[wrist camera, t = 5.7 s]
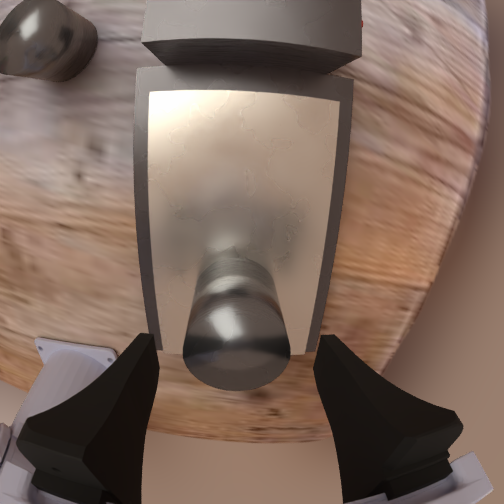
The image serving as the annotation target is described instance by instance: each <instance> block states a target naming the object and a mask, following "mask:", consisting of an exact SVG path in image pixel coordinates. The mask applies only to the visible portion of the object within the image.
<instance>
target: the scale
mask: <svg viewBox="0 0 504 504" xmlns="http://www.w3.org/2000/svg"><path fill="white" fill-rule="evenodd" d="M362 27H363V21H362V16H361V0H147V3H146V9H145V16H144V23H143V30H142V38H141V43H142V44H143V45H144V46H146V47H147V48H148V49H149V50H150V51H151V52H152V53H153V54H154V55H155V56H156V57H157V58H158V59H159V60H160V61H161V62H162V63H163V64H165V66H152V67H141V68H137V73H136V87H135V105H134V140H133V161H134V197H135V216H136V231H137V243H138V254H139V264H140V273H141V281H142V289H143V297H144V304H145V311H146V317H147V323H148V329H149V334H154V339H155V345H156V350H163V352H164V353H170V354H183V344H184V339H185V334H186V329H187V324H188V320H189V315H190V310H191V305H192V301H193V296H194V292H195V287H196V283H197V280H198V278H199V276H200V275H201V273H202V272H203V271H204V270H205V269H206V268H207V267H208V266H209V265H211V264H212V263H214V262H216V261H219V260H221V259H225V258H231V257H239V258H246V259H250V260H252V261H255V262H257V263H258V264H260V265H261V266H263V267H264V268H265V269H266V270H267V271H268V272H269V273H270V275H271V276H272V278H273V281H274V283H275V287H276V291H277V295H278V299H279V303H280V307H281V311H282V315H283V319H284V323H285V327H286V331H287V335H288V339H289V343H290V348H291V354H290V355H302V354H305V352H312V351H315V349H316V345H317V341H318V336H319V332H320V328H321V323H322V318H323V314H324V309H325V304H326V299H327V294H328V289H329V284H330V279H331V273H332V268H333V262H334V256H335V250H336V244H337V238H338V232H339V225H340V218H341V211H342V204H343V196H344V188H345V180H346V172H347V162H348V152H349V142H350V130H351V117H352V102H353V82H354V79H349V78H344V77H339V76H333V75H328V73H330V72H332V71H334V70H336V69H338V68H339V67H341V66H344V65H346V64H347V63H349V62H351V61H353V60H355V59H357V58H360V57H362Z"/></svg>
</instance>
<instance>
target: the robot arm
mask: <svg viewBox="0 0 504 504" xmlns="http://www.w3.org/2000/svg"><path fill="white" fill-rule="evenodd" d="M34 342H35V345H36V347H37V349H38V352H39V354H40V356H41V359H42V361H43V363H44V366H43V368H42V370H41V371H40V373H39V375H38V376H37V378H36V380H35V382H34V383H33V385H32V387H31V389H30V391H29V392H28V394H27V396H26V398H25V400H24V402H23V404H22V405H21V407H20V409H19V411H18V413H17V415H16V417H15V419H14V421H13V423H12V425H11V426H10V427H8V426H7V425H5V424H4V423H0V504H141V485H142V484H141V483H142V464H143V452H144V443H145V435H146V429H147V425H148V421H149V417H150V413H151V409H152V406H153V402H154V398H155V394H156V390H157V385H158V377H159V369H160V367H159V362H158V356H157V351H156V345H155V339H154V334H148V333H140V334H139V335H138V336H137V337H136V338H135V339H134V340H133V341H132V343H131V344H130V345H129V346H128V347H127V348H126V349H125V350H124V352H123V353H122V354H121V355H120V356H119V357H118V358H117V355H116V352H115V351H114V350H113V349H110V348H104V347H96V346H89V345H82V344H75V343H69V342H63V341H57V340H51V339H46V338H40V337H37V338H36V339H35V341H34ZM110 358H111V359H110ZM112 359H113V360H112ZM313 370H314V376H315V381H316V385H317V389H318V392H319V395H320V398H321V401H322V404H323V406H324V409H325V412H326V415H327V418H328V420H329V423H330V426H331V430H332V433H333V437H334V442H335V447H336V452H337V458H338V463H339V470H340V477H341V485H342V496H343V504H475V503H477V502H478V501H479V500H481V499H482V498H484V497H485V496H486V495H487V494H489V493H490V492H492V491H493V487H492V485H491V483H490V481H489V479H488V477H487V475H486V473H485V472H484V470H483V468H482V466H481V464H480V463H479V461H478V459H477V457H476V455H475V454H474V452H473V451H471V452H469V453H468V454H465V455H463V456H461V457H459V458H457V459H455V460H454V461H452V462H451V463H450V464H449V462H448V460H447V458H449V457H450V454H449V452H448V448H449V447H450V446H451V445H452V444H453V443H454V441H455V440H456V439H457V438H458V437H459V436H460V434H461V433H462V430H463V424H462V423H461V421H460V419H459V418H458V416H457V415H456V413H455V411H452V410H449V409H446V408H442V407H439V406H436V405H433V404H431V403H428V402H426V401H423V400H421V399H419V398H416V397H415V396H413V395H411V394H409V393H407V392H405V391H403V390H401V389H400V388H398V387H396V386H395V385H393V384H392V383H390V382H389V381H387V380H386V379H384V378H383V377H382V376H380V375H379V374H378V373H376V372H375V371H374V370H373V369H371V368H370V367H369V366H368V365H367V364H365V363H364V362H363V361H362V360H361V359H360V358H359V357H358V356H356V355H355V354H354V353H353V352H352V351H351V350H350V349H349V348H348V347H347V346H346V345H345V344H344V343H343V342H342V341H341V340H340V339H339V338H338V337H336V336H335V335H334V334H333V335H321V338H320V342H319V347H318V351H317V355H316V359H315V363H314V367H313Z"/></svg>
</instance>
